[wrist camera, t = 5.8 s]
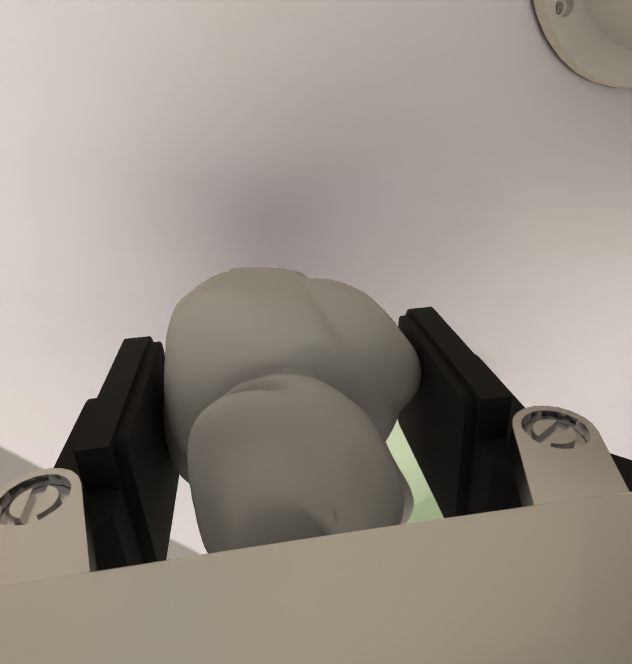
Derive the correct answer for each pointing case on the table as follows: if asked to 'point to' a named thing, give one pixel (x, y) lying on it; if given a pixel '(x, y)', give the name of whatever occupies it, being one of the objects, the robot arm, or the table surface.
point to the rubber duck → (286, 408)
